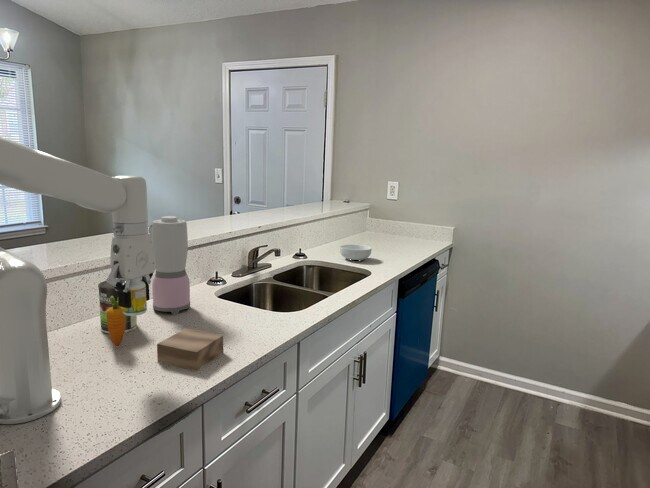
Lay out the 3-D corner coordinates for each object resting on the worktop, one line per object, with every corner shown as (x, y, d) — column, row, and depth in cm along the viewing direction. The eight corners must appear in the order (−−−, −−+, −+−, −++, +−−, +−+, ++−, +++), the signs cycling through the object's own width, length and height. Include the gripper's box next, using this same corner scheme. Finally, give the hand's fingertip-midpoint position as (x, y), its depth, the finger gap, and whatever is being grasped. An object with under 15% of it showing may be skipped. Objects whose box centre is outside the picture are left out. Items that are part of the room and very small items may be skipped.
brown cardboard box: (196, 370, 113) (196, 352, 112) (157, 362, 117) (156, 343, 116) (223, 352, 124) (223, 335, 123) (186, 344, 128) (186, 328, 127)
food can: (117, 336, 132) (114, 290, 129) (92, 329, 136) (90, 284, 133) (145, 325, 141) (143, 281, 138) (121, 319, 145) (119, 277, 142)
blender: (198, 307, 159) (196, 217, 153) (171, 317, 148) (168, 221, 142) (165, 299, 166) (163, 212, 160) (138, 308, 155) (134, 216, 149)
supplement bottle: (151, 312, 110) (149, 274, 108) (130, 318, 106) (129, 278, 104) (138, 307, 113) (136, 270, 111) (118, 312, 109) (116, 274, 107)
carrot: (122, 341, 128) (119, 290, 125) (130, 346, 125) (128, 294, 122) (104, 346, 124) (101, 294, 122) (113, 352, 121) (110, 298, 119)
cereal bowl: (374, 258, 247) (375, 246, 246) (364, 264, 233) (365, 251, 231) (346, 254, 254) (346, 242, 253) (334, 260, 239) (335, 247, 238)
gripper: (115, 236, 96) (120, 317, 100) (168, 225, 112) (170, 295, 116) (88, 233, 99) (93, 312, 102) (143, 223, 115) (146, 291, 118)
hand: (134, 302), depth 109 cm, fingers closed on supplement bottle, 5 cm apart
